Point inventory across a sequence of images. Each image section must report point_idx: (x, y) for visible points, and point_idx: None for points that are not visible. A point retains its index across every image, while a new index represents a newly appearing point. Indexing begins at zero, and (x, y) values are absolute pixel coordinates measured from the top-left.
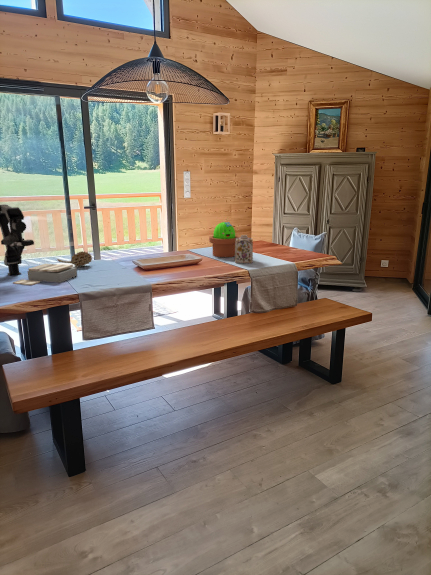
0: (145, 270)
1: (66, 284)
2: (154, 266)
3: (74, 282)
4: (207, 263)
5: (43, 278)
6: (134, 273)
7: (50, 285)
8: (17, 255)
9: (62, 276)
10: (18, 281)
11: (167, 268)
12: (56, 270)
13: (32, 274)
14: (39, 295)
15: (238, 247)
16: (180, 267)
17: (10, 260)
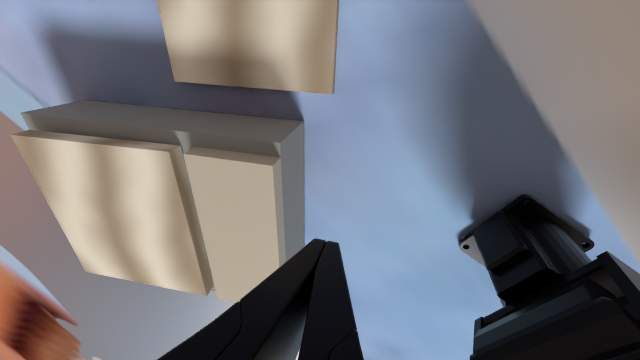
0: (37, 304)
1: (28, 74)
2: (62, 339)
3: None
4: (6, 352)
5: (171, 113)
6: (24, 273)
7: (66, 23)
8: (339, 259)
9: None
10: (312, 20)
11: (19, 320)
12: (22, 133)
13: (243, 129)
14: None
15: None
16: (9, 326)
17: (572, 297)
